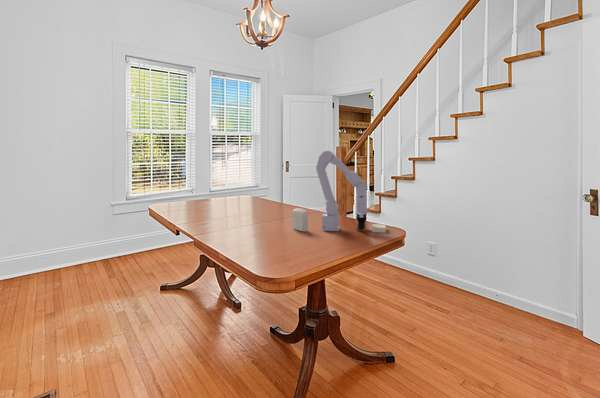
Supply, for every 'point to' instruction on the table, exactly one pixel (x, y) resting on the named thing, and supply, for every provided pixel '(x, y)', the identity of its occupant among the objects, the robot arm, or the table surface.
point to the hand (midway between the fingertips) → (361, 227)
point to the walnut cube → (359, 229)
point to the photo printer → (300, 219)
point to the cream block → (378, 228)
